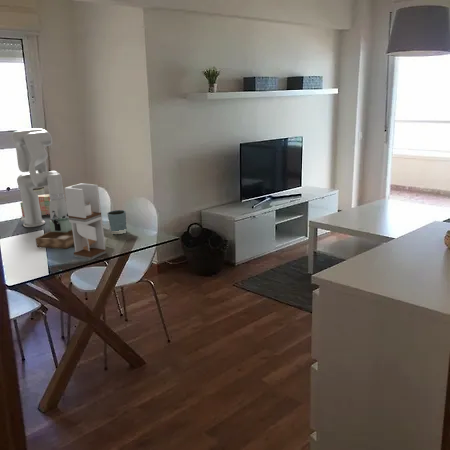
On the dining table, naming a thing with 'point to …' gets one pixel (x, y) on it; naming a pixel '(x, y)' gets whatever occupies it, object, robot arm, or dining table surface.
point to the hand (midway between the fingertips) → (61, 228)
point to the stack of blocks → (41, 204)
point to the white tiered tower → (85, 220)
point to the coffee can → (39, 191)
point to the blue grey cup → (117, 220)
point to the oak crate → (55, 240)
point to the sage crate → (61, 225)
